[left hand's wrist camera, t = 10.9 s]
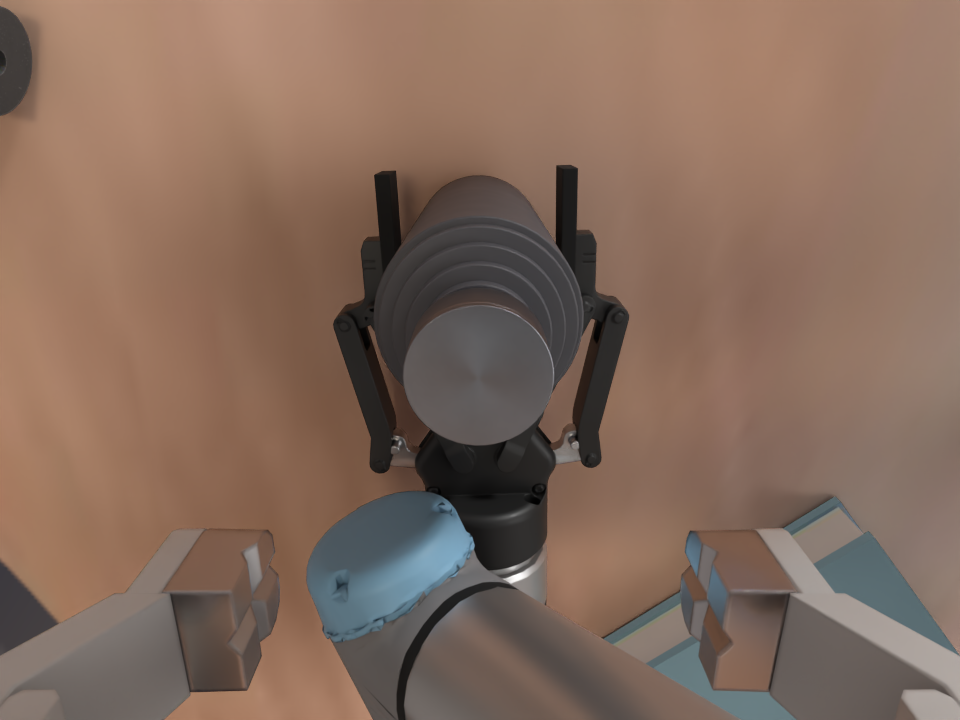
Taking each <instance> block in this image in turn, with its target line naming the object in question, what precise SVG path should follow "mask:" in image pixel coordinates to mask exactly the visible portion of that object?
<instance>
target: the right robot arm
mask: <svg viewBox="0 0 960 720" xmlns="http://www.w3.org/2000/svg"><path fill="white" fill-rule="evenodd" d="M374 177H375V189H376V201H377V212H378V224H379V236H378V237H367V238H366V239H365V240H364V242H363V245H362V249H361V257H362V268H363V278H364V289H365V298H364V299H363V300H361V301H359V302H356V303H354V304H348V305H346V306H345V307H344V308H343V309H342V311H341V312H340V313H339V315H338V316H337V318H336V319H335V320H334V323H333V326H334V330H335V333H336V336H337V339H338V342H339V345H340V348H341V351H342V354H343V357H344V360H345V363H346V366H347V369H348V372H349V375H350V378H351V381H352V383H353V386H354V389H355V392H356V395H357V398H358V401H359V404H360V407H361V410H362V413H363V416H364V419H365V422H366V425H367V428H368V431H369V434H370V436H371V449H370V467H371V469H372V470H373V471H374V472H376V473H384V472H387V471H388V469H389V467H390V466H399V467H409V468H416V471H417V473H418V474H419V476H420V477H421V478H422V480H423V482H424V485H425V491H406V492H399V493H394V494H390V495H387V496H384V497H381V498H378V499H376V500H373V501H371V502H369V503H367V504H365V505H363V506H361V507H359V508H357V510H355V511H353V512H352V513H350V514H349V515H347V516H346V517H344V518H343V519H341V520H339V521H338V522H337V523H336V524H335V525H333V526H332V527H331V528H330V529H329V530H328V531H327V532H326V533H325V534H324V536H323V537H322V538H321V539H320V541H319V542H318V543H317V545H316V546H315V548H314V550H313V552H312V554H311V556H310V559H309V562H308V565H307V580H306V581H307V585H308V589H309V592H310V594H311V596H312V599H313V601H314V603H315V606H316V608H317V611H318V613H319V616H320V618H321V621H322V624H323V629H322V631H323V633H324V634H325V636H326V638H327V639H329V638H330V639H331V641H332V643H333V645H334V646H335V648H336V650H337V652H338V654H339V656H340V658H341V660H342V662H343V664H344V665H345V667H346V669H347V671H348V673H349V675H350V677H351V679H352V681H353V682H354V684H355V686H356V688H357V690H358V692H359V694H360V696H361V698H362V700H363V701H364V703H365V705H366V707H367V709H368V711H369V713H370V715H371V717H372V718H373V720H741V719H739V718H737V717H736V716H734V715H732V714H731V713H729V712H727V711H725V710H724V709H722V708H720V707H719V706H717V705H715V704H713V703H712V702H710V701H708V700H707V699H705V698H703V697H701V696H700V695H698V694H696V693H695V692H693V691H691V690H689V689H688V688H686V687H684V686H683V685H681V684H679V683H678V682H676V681H674V680H672V679H671V678H669V677H667V676H666V675H664V674H662V673H660V672H659V671H657V670H655V669H654V668H652V667H650V666H648V665H647V664H645V663H643V662H642V661H640V660H638V659H636V658H635V657H633V656H631V655H630V654H628V653H626V652H624V651H623V650H621V649H619V648H618V647H616V646H614V645H612V644H611V643H609V642H607V641H606V640H604V639H602V638H600V637H599V636H597V635H595V634H594V633H592V632H590V631H589V630H587V629H585V628H583V627H582V626H580V625H578V624H577V623H575V622H573V621H571V620H570V619H568V618H566V617H565V616H563V615H561V614H559V613H558V612H556V611H554V610H553V609H551V608H549V607H547V606H546V597H547V544H546V541H545V540H546V537H547V483H548V479H549V476H550V474H551V473H552V471H553V470H554V468H555V465H556V464H562V463H568V462H575V461H581V462H582V464H583V465H584V466H586V467H588V468H593V467H596V466H597V465H599V463H600V462H601V450H600V442H599V433H598V431H599V428H600V424H601V420H602V416H603V413H604V409H605V405H606V402H607V398H608V394H609V391H610V387H611V383H612V379H613V376H614V372H615V368H616V365H617V361H618V357H619V354H620V350H621V346H622V342H623V339H624V335H625V331H626V328H627V324H628V320H629V314H628V311H627V310H626V309H625V308H624V306H623V305H622V304H621V303H620V301H619V300H618V299H617V298H616V297H614V296H606V295H603V294H600V293H598V292H596V290H595V276H596V244H597V243H596V241H595V238H594V235H593V234H592V233H591V232H590V231H589V230H577V181H578V168H576V167H574V166H572V165H556V245H557V247H558V248H559V250H560V251H561V253H562V254H563V256H564V258H565V259H566V261H567V262H568V264H569V266H570V268H571V269H572V271H573V273H574V275H575V278H576V280H577V283H578V285H579V288H580V292H581V296H582V301H583V311H584V319H583V331H582V335H583V333H584V331H585V329H586V327H587V325H588V324H589V322H590V320H591V319H595V323H594V327H593V331H592V335H591V339H590V343H589V347H588V351H587V355H586V359H585V363H584V367H583V371H582V375H581V379H580V383H579V387H578V391H577V395H576V399H575V403H574V408H573V417H572V418H573V424H567V425H566V426H565V427H564V428H563V430H562V435H561V438H560V439H559V440H558V441H557V442H555V443H551V441H550V440H549V439H548V438H547V437H546V435H545V434H544V433H543V432H542V430H541V429H540V428H539V427H538V424H539V422H540V420H541V418H542V416H543V413H544V411H543V413H542V414H541V416H540V417H539V418H538V419H537V420H536V422H535V423H533V424H532V425H531V426H530V427H529V428H528V429H527V430H525V431H524V432H522V433H521V434H519V435H517V436H516V437H514V438H512V439H509V440H507V441H504V442H500V443H497V444H491V445H479V446H475V445H465V444H461V443H456V442H454V441H451V440H448V439H446V438H444V437H442V436H440V435H438V434H436V433H435V432H433V431H432V430H430V431H429V433H428V434H427V435H426V437H425V438H424V440H423V441H422V442H421V444H420V445H419V447H417V446H414V445H412V444H411V443H410V442H409V440H408V436H407V434H406V432H404V431H403V430H402V429H400V428H397V429H396V416H395V412H394V408H393V405H392V402H391V399H390V396H389V393H388V389H387V386H386V383H385V380H384V377H383V374H382V371H381V368H380V364H379V361H378V358H377V355H376V352H375V349H374V346H373V343H372V339H371V336H370V333H369V330H368V327H367V326H370V325H371V326H372V328H373V330H374V331H375V329H374V303H375V298H376V293H377V289H378V286H379V283H380V281H381V278H382V276H383V274H384V272H385V270H386V268H387V266H388V264H389V263H390V261H391V260H392V258H393V257H394V255H395V254H396V252H397V250H398V249H399V247H400V246H401V233H400V219H399V205H398V192H397V178H396V171H381V172H379V173H377V174H375V175H374ZM581 337H582V336H581ZM556 385H557V384H556ZM556 385H555V386H554V387H553V390H554V388H555V387H556ZM553 390H552V392H553Z"/></svg>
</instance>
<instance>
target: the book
mask: <svg viewBox="0 0 960 720" xmlns="http://www.w3.org/2000/svg"><path fill="white" fill-rule="evenodd" d="M783 529H784V530H786V531H788V532H789V533H790V535H791V536H792V537H793V539H794V540H795V541H796V542H797V544H798V545H799V546H800V548H801V549H802V550H803V552H804V553H805V554H806V556H807V557H808V558H809V559H810V561H811V562H812V563H813V565H814V566H815V567H816V569H817V570H818V571H819V572H820V574H821V575H822V576H823V578H824V579H825V580H826V582H827V583H828V584H829V585H830V587H831V588H832V589H833V591H834V592H835V593H845V594H847V595H849V596H851V597H853V598H855V599H856V600H858V601H860V602H862V603H864V604H866V605H867V606H869V607H871V608H873V609H875V610H877V611H878V612H880V613H882V614H884V615H886V616H887V617H889V618H891V619H893V620H895V621H897V622H898V623H900V624H902V625H904V626H906V627H908V628H909V629H911V630H913V631H915V632H917V633H919V634H920V635H922V636H924V637H926V638H928V639H930V640H931V641H933V642H935V643H937V644H939V645H941V646H942V647H944V648H946V649H948V650H950V651H952V652H953V653H955V654H957V655H959V654H958V653H957V651H956V650H955V648H954V647H953V646H952V644H951V643H950V642H949V640H948V639H947V637H946V636H945V635H944V633H943V632H942V630H941V629H940V628H939V626H938V625H937V624H936V622H935V621H934V619H933V618H932V617H931V615H930V614H929V612H928V611H927V610H926V608H925V607H924V606H923V604H922V603H921V601H920V600H919V599H918V597H917V596H916V594H915V593H914V592H913V590H912V589H911V587H910V586H909V585H908V583H907V582H906V581H905V579H904V578H903V576H902V575H901V574H900V572H899V571H898V569H897V568H896V567H895V565H894V564H893V563H892V561H891V560H890V558H889V557H888V556H887V554H886V553H885V551H884V550H883V549H882V547H881V546H880V544H879V543H878V542H877V540H876V539H875V538H874V536H873V535H872V534H871V533H870V532H869V531H868V532H866V533H864V534H863V532H862V531H861V530H860V528H859V527H858V525H857V524H856V523H855V521H854V520H853V519H852V517H851V516H850V514H849V513H848V512H847V510H846V509H845V508H844V506H843V505H842V503H841V502H840V501H839V500H838V499H837V498H836V497H833V498H832V499H830V500H828V501H827V502H825V503H824V504H822V505H820V506H819V507H817V508H815V509H814V510H812V511H811V512H809V513H807V514H806V515H804V516H802V517H801V518H799V519H798V520H796V521H794V522H793V523H791V524H789V525H788V526H786V527H785V528H783ZM604 640H606V641H607V642H609V643H611V644H612V645H614V646H616V647H618V648H619V649H621V650H623V651H624V652H626V653H628V654H630V655H631V656H633V657H635V658H636V659H638V660H640V661H642V662H643V663H645V664H647V665H648V666H650V667H652V668H654V669H655V670H657V671H659V672H660V673H662V674H664V675H666V676H667V677H669V678H671V679H672V680H674V681H676V682H678V683H679V684H681V685H683V686H684V687H686V688H688V689H689V690H691V691H693V692H695V693H696V694H698V695H700V696H701V697H703V698H705V699H707V700H708V701H710V702H712V703H713V704H715V705H717V706H719V707H720V708H722V709H724V710H725V711H727V712H729V713H731V714H732V715H734V716H736V717H737V718H739V719H741V720H796V719H795V718H794V717H793V716H792V715H791V714H790V713H789V712H788V711H787V710H785V709H784V708H783V707H782V706H781V705H780V704H779V703H778V702H777V701H776V700H774V699H773V698H772V697H771V696H770V695H769V694H770V692H746V691H713V690H712V687H711V685H710V683H709V680H708V678H707V675H706V673H705V671H704V668H703V666H702V663H701V661H700V659H699V656H698V655H699V647H700V642H699V641H698V640H697V639H695V638H694V637H693V636H691V635H690V634H689V632H688V629H687V627H686V624H685V621H684V617H683V613H682V609H681V596H680V592H679V593H677V594H675V595H674V596H672V597H671V598H669V599H667V600H666V601H664V602H662V603H661V604H659V605H658V606H656V607H654V608H653V609H651V610H649V611H648V612H646V613H645V614H643V615H641V616H640V617H638V618H636V619H635V620H633V621H632V622H630V623H628V624H627V625H625V626H623V627H622V628H620V629H619V630H617V631H615V632H614V633H612V634H610V635H609V636H607V637H606V638H604ZM959 656H960V655H959Z"/></svg>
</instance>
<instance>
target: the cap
mask: <svg viewBox="0 0 960 720" xmlns="http://www.w3.org/2000/svg"><path fill="white" fill-rule="evenodd" d="M403 384H404V389H405V393H406V396H407V399H408V402H409V404H410V406H411V408H412V409H413V411H414V412H415V414H416V415H417V417H418V418H419V419H420V420H421V421H422V422H423V423H424V424H425V425H426V426H427V427H428V428H429V429H431V430H432V431H433V432H435V433H436V434H438V435H440V436H442V437H444V438H446V439H448V440H451V441H454V442H456V443H461V444H465V445H475V446H479V445H491V444H497V443H500V442H504V441H507V440H509V439H512V438H514V437H516V436H517V435H519V434H521V433H522V432H524V431H525V430H527V429H528V428H529V427H530V426H531V425H532V424H533V423H535V422H536V420H537V419H538V418H539V417H540V416H541V414H542V413H543V411H544V410H545V408H546V406H547V404H548V402H549V400H550V397H551V394H552V390H553V385H554V366H553V360H552V357H551V353H550V350H549V347H548V343H547V340H546V337H545V334H544V331H543V329H542V326H541V324H540V322H539V321H538V319H537V317H536V316H535V315H534V314H533V312H532V311H531V310H530V309H529V308H528V307H527V306H526V305H525V304H524V303H522V302H521V301H519V300H518V299H517V298H515V297H513V296H511V295H509V294H507V293H504V292H502V291H498V290H494V289H489V288H469V289H463V290H459V291H456V292H453V293H450V294H448V295H446V296H444V297H442V298H441V299H439V300H438V301H436V302H435V303H434V304H433V305H431V306H430V307H429V308H428V309H427V310H426V311H425V312H424V314H423V315H422V317H421V318H420V319H419V321H418V323H417V325H416V327H415V329H414V332H413V335H412V338H411V341H410V344H409V347H408V350H407V354H406V357H405V361H404V366H403Z"/></svg>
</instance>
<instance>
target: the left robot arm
mask: <svg viewBox="0 0 960 720" xmlns="http://www.w3.org/2000/svg"><path fill="white" fill-rule="evenodd" d="M274 553H275V548H274V542H273V536H272V534H271V533H270V532H269V531H268V530H251V529H205V528H203V529H177V530H174V531H172V532H171V533H170V534H169V536H168V537H167V538H166V540H165V541H164V542H163V543H162V545H161V546H160V547H159V549H158V550H157V551H156V553H155V554H154V555H153V557H152V558H151V559H150V560H149V562H148V563H147V564H146V566H145V567H144V568H143V570H142V571H141V572H140V574H139V575H138V576H137V578H136V579H135V580H134V581H133V583H132V584H131V585H130V587H129V588H128V589H127V591H126V592H125V593H115V594H113V595H111V596H109V597H107V598H105V599H104V600H102V601H100V602H98V603H96V604H94V605H93V606H91V607H89V608H87V609H85V610H83V611H82V612H80V613H78V614H76V615H74V616H72V617H71V618H69V619H67V620H65V621H63V622H61V623H60V624H58V625H56V626H54V627H52V628H50V629H49V630H47V631H45V632H43V633H41V634H39V635H38V636H36V637H34V638H32V639H30V640H28V641H27V642H25V643H23V644H21V645H19V646H17V647H16V648H14V649H12V650H10V651H8V652H6V653H5V654H3V655H1V656H0V720H164V719H165V718H166V717H167V716H168V715H169V714H170V713H172V712H173V711H174V710H175V709H176V708H177V707H178V706H179V705H180V704H181V703H183V702H184V701H185V700H186V699H187V698H188V697H189V696H190V692H214V691H247V690H248V687H249V685H250V683H251V680H252V678H253V675H254V673H255V671H256V668H257V666H258V663H259V661H260V659H261V656H262V655H261V648H260V642H261V641H262V640H263V639H265V638H266V637H267V636H269V635H270V634H271V632H272V629H273V627H274V624H275V621H276V618H277V612H278V607H279V596H280V586H279V578H278V574H277V573H276V572H275V571H274V570H273V569H272V568H271V566H270V565H269V564H270V562H271V560H272V557H273V555H274ZM685 553H686V555H687V558H688V560H689V562H690V564H691V565H690V566H689V568H688V569H687V570H686V571H685V572H684V573H683V574H682V578H681V588H680V596H681V609H682V613H683V617H684V621H685V624H686V627H687V629H688V632H689V634H690V635H691V636H693V637H694V638H695V639H697V640H698V641H699V642H700V647H699V655H698V656H699V659H700V661H701V663H702V666H703V668H704V671H705V673H706V675H707V678H708V680H709V683H710V685H711V687H712V690H713V691H746V692H770V694H769V695H770V696H771V697H772V698H773V699H774V700H776V701H777V702H778V703H779V704H780V705H781V706H782V707H783V708H784V709H785V710H787V711H788V712H789V713H790V714H791V715H792V716H793V717H794V718H795V719H796V720H960V656H959V655H957V654H955V653H953V652H952V651H950V650H948V649H946V648H944V647H942V646H941V645H939V644H937V643H935V642H933V641H931V640H930V639H928V638H926V637H924V636H922V635H920V634H919V633H917V632H915V631H913V630H911V629H909V628H908V627H906V626H904V625H902V624H900V623H898V622H897V621H895V620H893V619H891V618H889V617H887V616H886V615H884V614H882V613H880V612H878V611H877V610H875V609H873V608H871V607H869V606H867V605H866V604H864V603H862V602H860V601H858V600H856V599H855V598H853V597H851V596H849V595H847V594H845V593H835V592H834V591H833V589H832V588H831V587H830V585H829V584H828V583H827V582H826V580H825V579H824V578H823V576H822V575H821V574H820V572H819V571H818V570H817V569H816V567H815V566H814V565H813V563H812V562H811V561H810V559H809V558H808V557H807V556H806V554H805V553H804V552H803V550H802V549H801V548H800V546H799V545H798V544H797V542H796V541H795V540H794V539H793V537H792V536H791V535H790V533H789V532H788V531H786V530H784V529H782V528H769V529H751V530H700V531H690V532H689V534H688V537H687V540H686V547H685Z"/></svg>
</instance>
